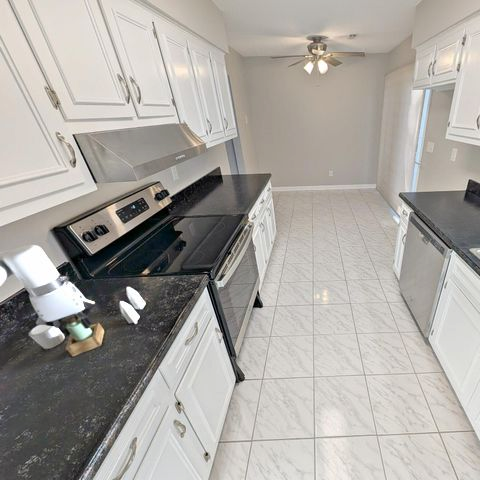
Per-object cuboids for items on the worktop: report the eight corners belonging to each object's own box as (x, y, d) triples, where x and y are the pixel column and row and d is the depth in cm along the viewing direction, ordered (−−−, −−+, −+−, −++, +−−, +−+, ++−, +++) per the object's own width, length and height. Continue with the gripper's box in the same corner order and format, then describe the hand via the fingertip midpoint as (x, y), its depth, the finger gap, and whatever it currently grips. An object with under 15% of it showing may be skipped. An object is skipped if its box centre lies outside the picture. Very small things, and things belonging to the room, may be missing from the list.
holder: (72, 356, 82) (65, 348, 80) (77, 340, 88) (71, 332, 86) (101, 345, 85) (95, 337, 83) (104, 330, 91) (98, 322, 89)
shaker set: (138, 303, 102) (126, 282, 97) (149, 301, 103) (137, 280, 98) (124, 326, 92) (110, 303, 87) (137, 323, 93) (123, 300, 87)
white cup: (36, 347, 86) (23, 333, 83) (60, 332, 92) (49, 318, 88) (47, 353, 84) (34, 338, 80) (71, 336, 89) (60, 322, 86)
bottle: (78, 349, 83) (59, 324, 78) (81, 340, 87) (62, 315, 81) (95, 343, 85) (77, 318, 80) (98, 334, 89) (80, 309, 83)
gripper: (84, 269, 81) (111, 311, 90) (12, 289, 74) (49, 333, 82) (79, 281, 75) (108, 325, 84) (0, 304, 68) (41, 349, 77)
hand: (78, 328), depth 83 cm, fingers closed on bottle, 4 cm apart
